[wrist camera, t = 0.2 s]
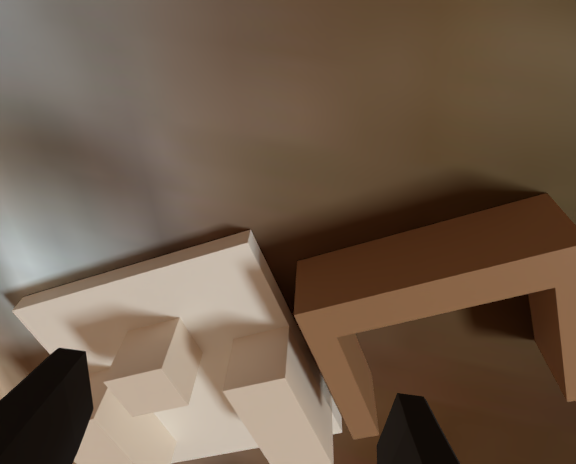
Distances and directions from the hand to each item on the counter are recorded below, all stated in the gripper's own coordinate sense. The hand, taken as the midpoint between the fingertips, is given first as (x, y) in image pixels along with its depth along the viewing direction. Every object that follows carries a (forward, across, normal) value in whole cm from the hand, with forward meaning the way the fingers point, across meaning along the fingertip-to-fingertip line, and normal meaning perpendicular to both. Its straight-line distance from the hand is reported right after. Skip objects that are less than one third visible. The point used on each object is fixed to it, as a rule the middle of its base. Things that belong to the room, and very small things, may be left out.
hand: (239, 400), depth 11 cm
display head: (+10, +3, +10) cm, 14 cm away
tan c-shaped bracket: (+10, -8, +4) cm, 13 cm away
